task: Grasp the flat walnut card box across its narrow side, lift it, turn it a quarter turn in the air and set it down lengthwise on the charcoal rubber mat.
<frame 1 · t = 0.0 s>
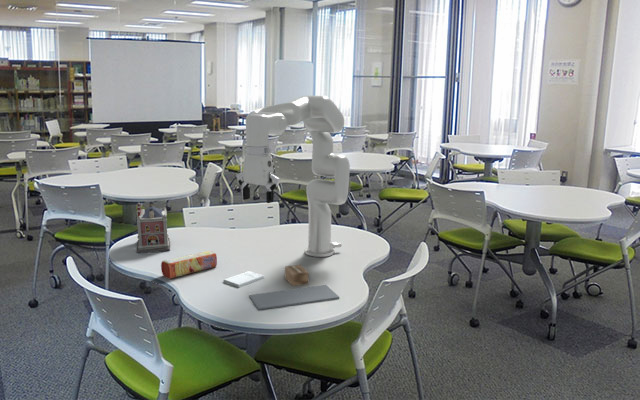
hand: (258, 200, 190), 31 cm above the table, tool pointing down, fingers open, 9 cm apart
card box: (296, 281, 203), on the table
snack package: (190, 272, 211), on the table
model building: (153, 246, 242), on the table
external hard drive: (243, 281, 203), on the table
mat: (294, 297, 187), on the table
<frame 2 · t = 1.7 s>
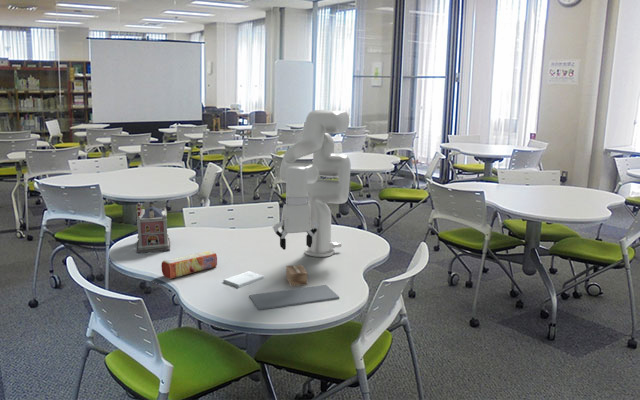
hand: (296, 247, 199), 13 cm above the table, tool pointing down, fingers open, 9 cm apart
nothing on the table moved.
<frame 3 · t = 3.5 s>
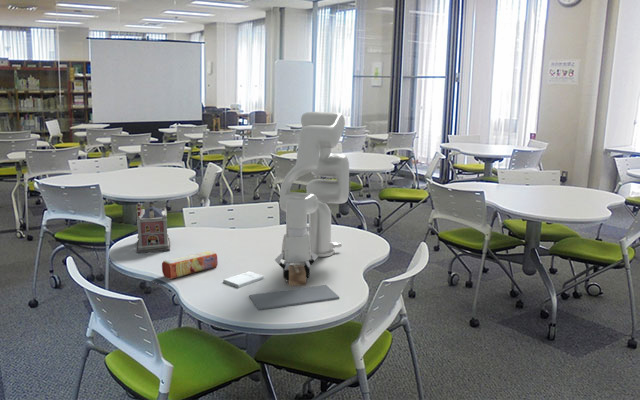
hand: (296, 277, 202), 1 cm above the table, tool pointing down, fingers closed on card box, 6 cm apart
card box: (296, 280, 203), on the table, touching gripper
everything else where it was.
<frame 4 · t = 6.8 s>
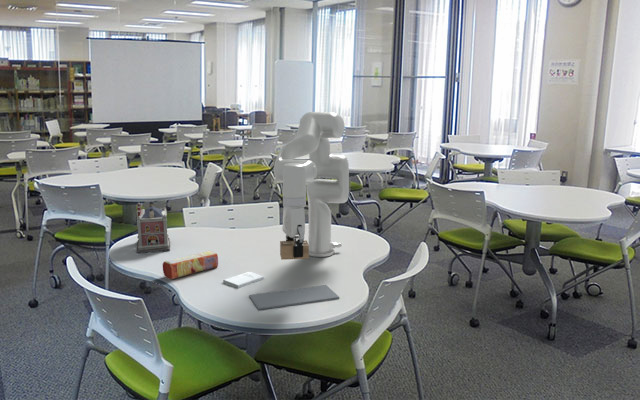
hand: (294, 253, 184), 16 cm above the table, tool pointing down, fingers closed on card box, 6 cm apart
card box: (294, 256, 184), point 15 cm above the table, touching gripper
everything else where it was.
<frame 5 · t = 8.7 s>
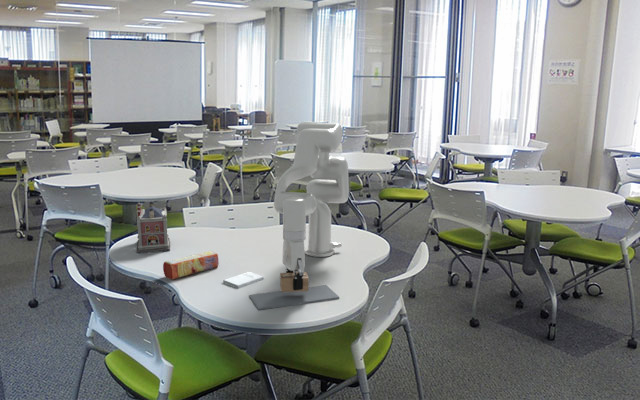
hand: (294, 285, 186), 4 cm above the table, tool pointing down, fingers closed on card box, 6 cm apart
card box: (294, 288, 186), point 3 cm above the table, touching gripper
when the fingers open (3 cm above the table, at t = 10.1 s): card box stays where it is, resting on mat.
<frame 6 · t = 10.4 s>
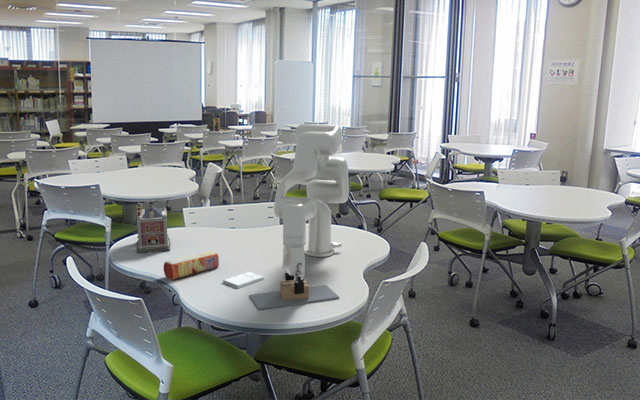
hand: (294, 288, 186), 3 cm above the table, tool pointing down, fingers open, 9 cm apart
card box: (294, 295, 187), point 1 cm above the table, touching mat
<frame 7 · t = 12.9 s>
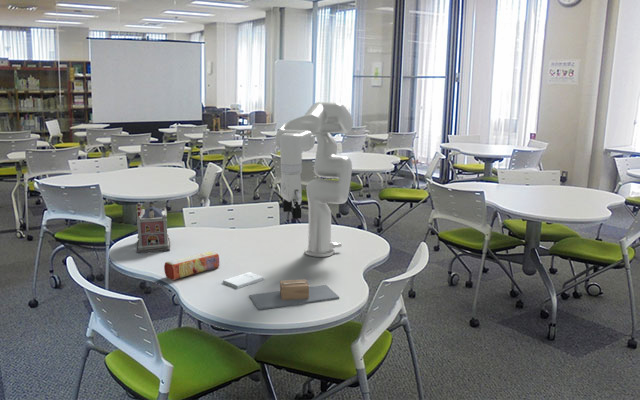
hand: (292, 214, 200), 24 cm above the table, tool pointing down, fingers open, 9 cm apart
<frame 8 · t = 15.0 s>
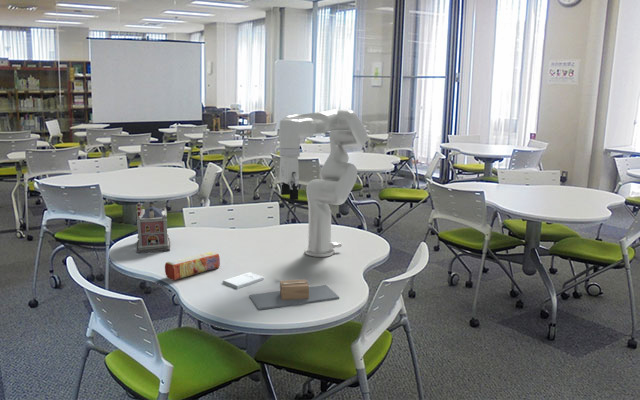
hand: (289, 197, 210), 28 cm above the table, tool pointing down, fingers open, 9 cm apart
at the end: card box inside the target area on the mat (0.1 cm from its centre), point 0.6 cm above the mat's base; card box tilted 0°; the gripper is holding nothing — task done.
